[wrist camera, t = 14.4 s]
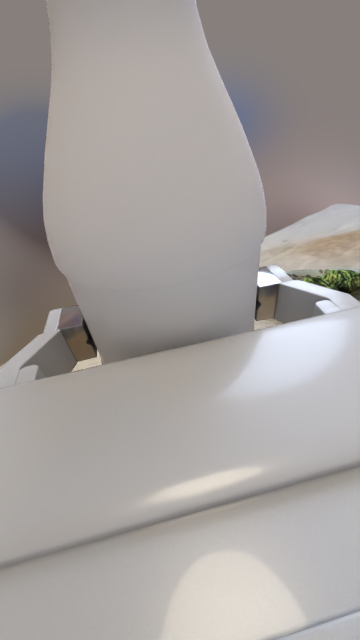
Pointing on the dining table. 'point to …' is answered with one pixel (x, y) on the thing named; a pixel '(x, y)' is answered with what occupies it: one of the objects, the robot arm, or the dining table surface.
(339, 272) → the avocado toast plate
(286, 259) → the dining table surface
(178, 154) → the water bottle
